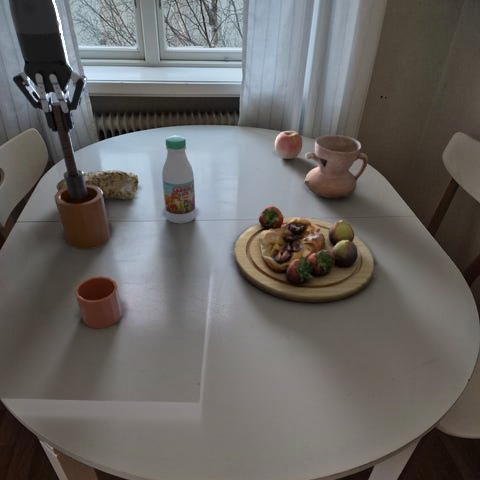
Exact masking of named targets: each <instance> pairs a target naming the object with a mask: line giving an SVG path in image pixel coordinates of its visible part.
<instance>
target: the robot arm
mask: <svg viewBox="0 0 480 480" xmlns="http://www.w3.org/2000/svg"><path fill="white" fill-rule="evenodd" d="M8 6H9V12H10V16H11V19H12V23H13V27H14V31H15V35H16V38H17V42H18V46H19V50H20V53H21V56H22V59H23V63H24V65H23V71H22V72H19V73H16V75H14V76H13V77H12V80H13V81H12V82H14V84H15V86H16V87H17V88H18V89H19V90H20V92H21V93H22V94H23V96H24V97H25V99H26V100H27V101H28V102H29V103H30V105H31V107H32V108H33V109H39V110H41V111H43V113H44V117H45V120H46V123H47V127H48V129H51V131H52V133H56V132H57V129H56V125H55V121H54V117H53V113H52V109H51V105H50V104H51V103H53V97H52V96H53V93H55V96H56V99H57V101H58V102H60V105H61V108H62V111H63V113H62V116H63V120H64V125H65V129H66V132H69V133H72V131H73V130H74V128H75V125H76V124H75V119H74V115H73V111H76V110H77V109H78V108H79V107H80V106H81V104H82V100H83V98H84V97H83V96H84V93H85V89H86V87H87V83H88V77H87V76H85V75H79V73H76V72H74V71H73V67H72V66H71V65H70V63H69V60H68V54H67V50H66V44H65V40H64V36H63V30H62V22H61V19H60V17H59V16H60V15H59V13H58V9H57V5H56V3H55V0H8ZM70 81H72V86H73V87H74V91H73V95H72V99H70V91H69V89H68V85H69V84H70ZM31 82H32V84H34V86H36V88H37V91H38V92H37V91H36V89H35V88H34V87H33V85H32V84H31Z"/></svg>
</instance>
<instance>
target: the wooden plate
mask: <svg viewBox="0 0 480 480" xmlns="http://www.w3.org/2000/svg"><path fill="white" fill-rule="evenodd" d="M258 222H259V223H256V224H254V225H252V226H250V227H249V228H247V229H246V230H244V232H242V234H240V236H239V237H238V239H236V242H235V245H234V249H233V259H234V262H235V265H236V268H237V269H238V271H239V272H240V273H241V275H242V276H243V277H244V279H246V280H247V282H249V283H250V284H252V285H253V286H255V287H256V288H258V289H260V290H262V291H264V292H266V293H268V294H271V295H272V296H275V297H278V298H281V299H285V300H288V301H289V300H290V301H293V302H295V301H296V302H303V303H325V302H334V301H339V300H342V299H345V298H348V297H351V296H353V295H355V294H357V293H358V292H360V291H361V290H363V289H364V288H365V287H366V286H367V285H368V284H369V282H370V281H371V279H372V277H373V276H374V271H375V261H374V258H373V255H372V252H371V250H370V249H369V248H368V246H367V245H366V244H365V242H364V241H362V239H360V238H359V237H358V236H356V235H355V231H354V228H353V227H352V225H351V224H350V223H348V222H347V221H345V220H343V219H339V220H337V221H336V222H334V223H332V222H331V223H330V222H328V221H324V220H320V219H316V218H309V217H300V216H299V217H298V216H292V217H291V216H290V217H289V216H288V217H284V216H283V212H282V211H281V210H280V208H278V207H276V206H275V205H269V206H267V207H265V208H264V209H263V210H262V212H260V214H259V216H258Z"/></svg>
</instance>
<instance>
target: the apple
mask: <svg viewBox="0 0 480 480" xmlns="http://www.w3.org/2000/svg"><path fill="white" fill-rule="evenodd" d="M302 149H303V138H302V136H301V135H300V133H298V132H297V131H294V130H285V131H282V132H280V133H279V134H278V135H277V136H276V138H275V141H274V150H275V153H276V155H277V156H278V157H279V158H281V159H284V160H291V159H295V158H297V157H298V156H299V154H300V153H301V152H302Z"/></svg>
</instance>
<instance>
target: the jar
mask: <svg viewBox="0 0 480 480" xmlns="http://www.w3.org/2000/svg"><path fill="white" fill-rule="evenodd" d="M86 189H87V193H88V195H87V197H85V198H83V199H71V198H70V197H69V194H68V190H67V187H66V188H63V189H61V190H60V191H58V190H57V192H56V193H55V194H54V201H55V206H56V210H57V213H58V215H59V219H60V223H61V226H62V230H63V234H64V238H65V240H66V243H67V245H69V246H70V247H72V248H75V249H78V250H79V249H80V250H90V249H95V248H99V247H102V246H103V245H105V244H106V243H108V242H109V240H110V239H111V237H112V235H111V230H110V225H109V220H108V213H107V209H106V205H105V204H106V203H105V198H103V194H102V190H101V189H99V188H98V187H95V186H92V185H86Z"/></svg>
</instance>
